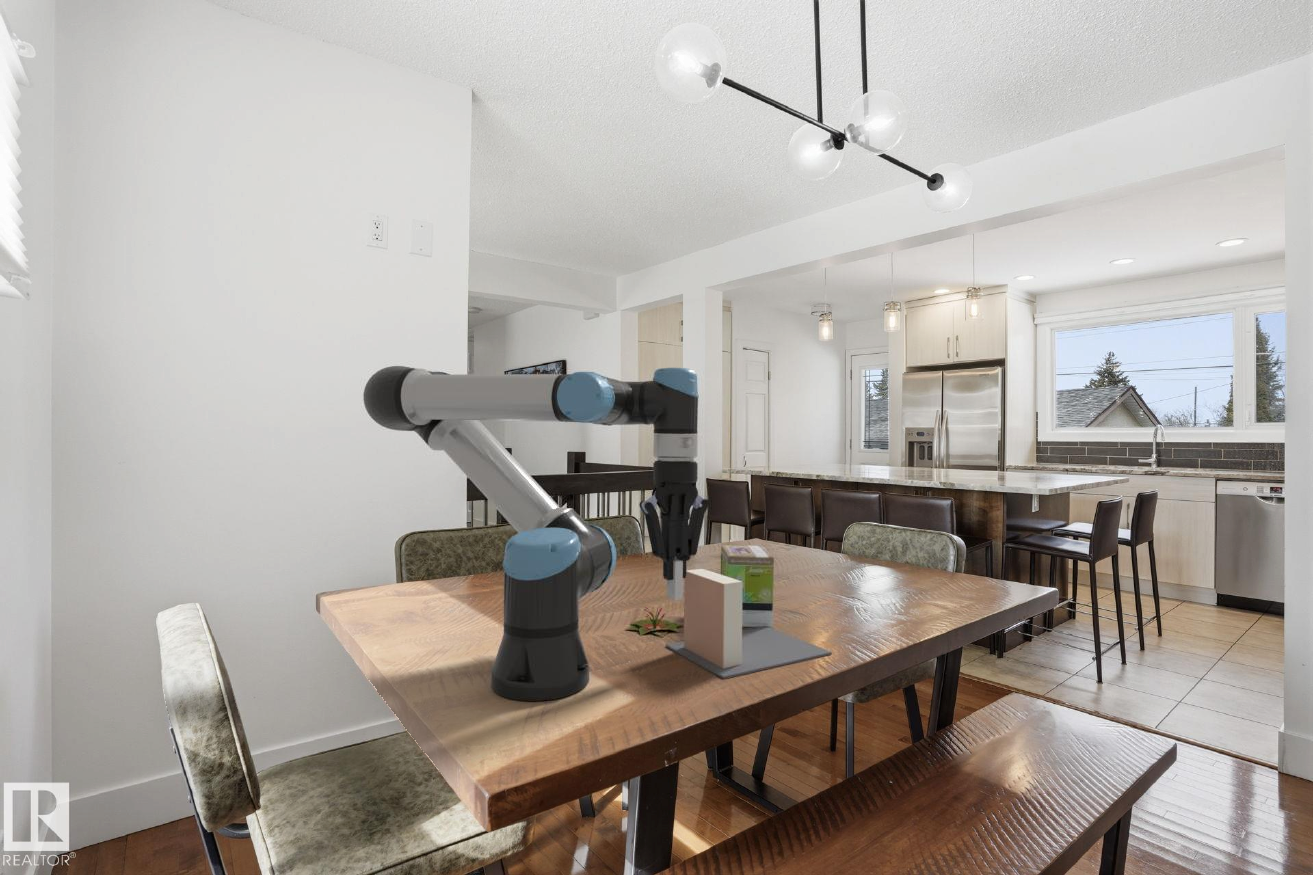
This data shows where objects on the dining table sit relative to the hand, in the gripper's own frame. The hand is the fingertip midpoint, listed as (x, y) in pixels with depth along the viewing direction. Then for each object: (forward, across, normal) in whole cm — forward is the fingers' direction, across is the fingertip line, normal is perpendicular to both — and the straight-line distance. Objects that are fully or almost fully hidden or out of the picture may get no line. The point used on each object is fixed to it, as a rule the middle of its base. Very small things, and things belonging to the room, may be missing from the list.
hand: (674, 598), depth 106 cm
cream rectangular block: (+11, +8, 0) cm, 13 cm away
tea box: (+12, +29, +17) cm, 36 cm away
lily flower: (+12, +8, +20) cm, 25 cm away
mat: (+12, +16, 0) cm, 20 cm away
